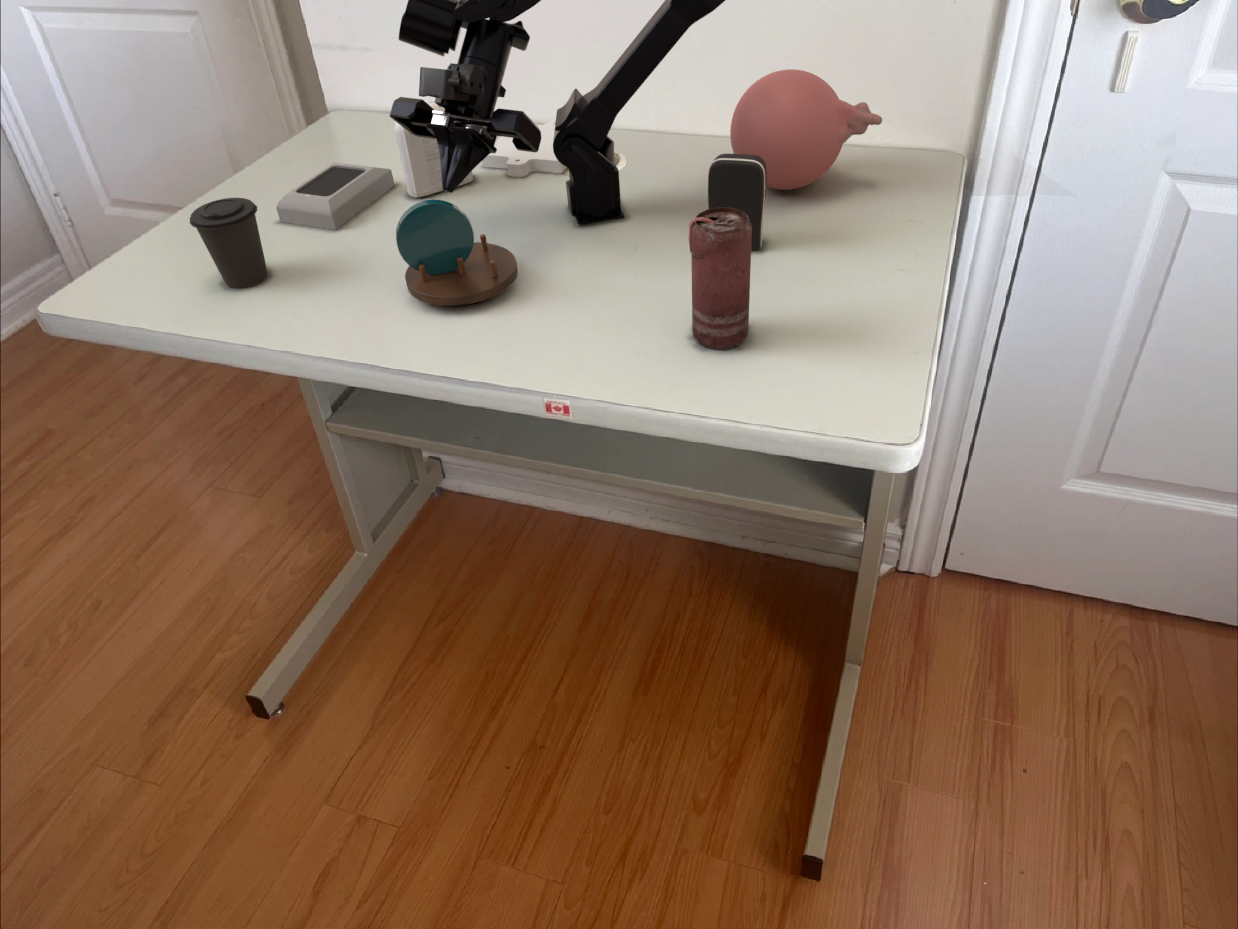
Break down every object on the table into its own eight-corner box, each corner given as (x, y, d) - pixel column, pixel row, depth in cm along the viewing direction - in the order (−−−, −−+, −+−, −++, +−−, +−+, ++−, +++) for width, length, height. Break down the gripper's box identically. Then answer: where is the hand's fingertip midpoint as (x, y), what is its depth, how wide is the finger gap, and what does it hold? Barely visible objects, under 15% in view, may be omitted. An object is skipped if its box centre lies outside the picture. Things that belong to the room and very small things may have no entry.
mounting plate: (555, 180, 137) (553, 167, 136) (476, 173, 141) (474, 161, 139) (597, 134, 149) (596, 122, 148) (524, 129, 153) (522, 117, 152)
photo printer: (465, 173, 141) (451, 90, 133) (478, 181, 138) (464, 97, 130) (403, 192, 137) (384, 108, 129) (415, 201, 134) (396, 116, 126)
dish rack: (506, 242, 120) (495, 166, 113) (527, 292, 110) (516, 212, 103) (401, 262, 117) (383, 185, 111) (413, 315, 107) (394, 234, 101)
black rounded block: (766, 238, 119) (770, 151, 112) (761, 252, 116) (764, 163, 109) (712, 234, 121) (713, 148, 113) (706, 247, 118) (706, 160, 111)
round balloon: (868, 214, 122) (883, 96, 112) (719, 204, 127) (720, 90, 117) (877, 167, 133) (891, 55, 123) (740, 159, 138) (742, 52, 128)
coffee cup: (219, 300, 115) (190, 226, 109) (209, 273, 121) (181, 201, 115) (284, 282, 118) (260, 208, 111) (271, 257, 124) (247, 185, 117)
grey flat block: (389, 161, 137) (328, 205, 126) (394, 185, 139) (335, 230, 129) (336, 155, 140) (272, 197, 129) (342, 178, 142) (280, 221, 132)
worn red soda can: (686, 324, 104) (684, 207, 95) (742, 318, 105) (745, 202, 96) (694, 354, 100) (693, 234, 91) (752, 348, 100) (757, 228, 91)
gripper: (380, 27, 109) (345, 154, 109) (516, 39, 102) (479, 174, 102) (431, 74, 120) (399, 190, 119) (557, 87, 113) (524, 211, 113)
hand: (447, 191), depth 113 cm, fingers closed
